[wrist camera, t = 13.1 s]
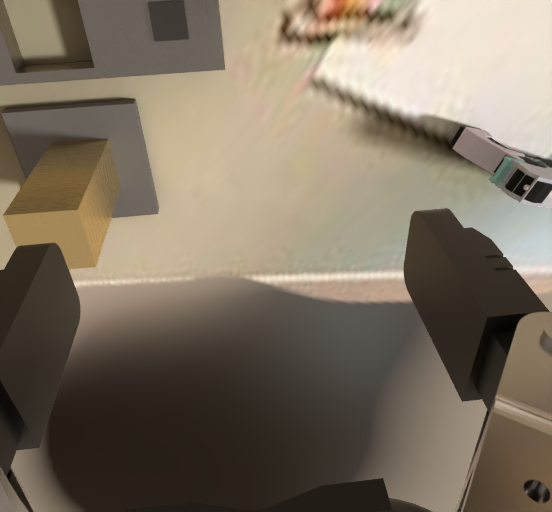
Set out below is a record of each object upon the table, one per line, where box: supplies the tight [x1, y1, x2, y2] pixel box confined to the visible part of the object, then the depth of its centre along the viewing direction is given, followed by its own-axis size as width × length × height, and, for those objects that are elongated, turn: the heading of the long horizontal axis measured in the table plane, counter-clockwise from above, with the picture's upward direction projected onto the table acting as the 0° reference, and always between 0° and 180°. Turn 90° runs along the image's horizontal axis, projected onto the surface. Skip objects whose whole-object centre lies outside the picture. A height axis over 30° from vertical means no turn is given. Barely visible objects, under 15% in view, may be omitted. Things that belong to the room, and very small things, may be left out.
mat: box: [1, 99, 159, 218], centre depth 41 cm, size 10×10×1 cm
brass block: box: [3, 139, 120, 269], centre depth 36 cm, size 4×4×11 cm
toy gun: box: [451, 126, 552, 209], centre depth 43 cm, size 2×17×10 cm, turn 69°
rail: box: [0, 0, 225, 85], centre depth 34 cm, size 24×7×2 cm, turn 93°
